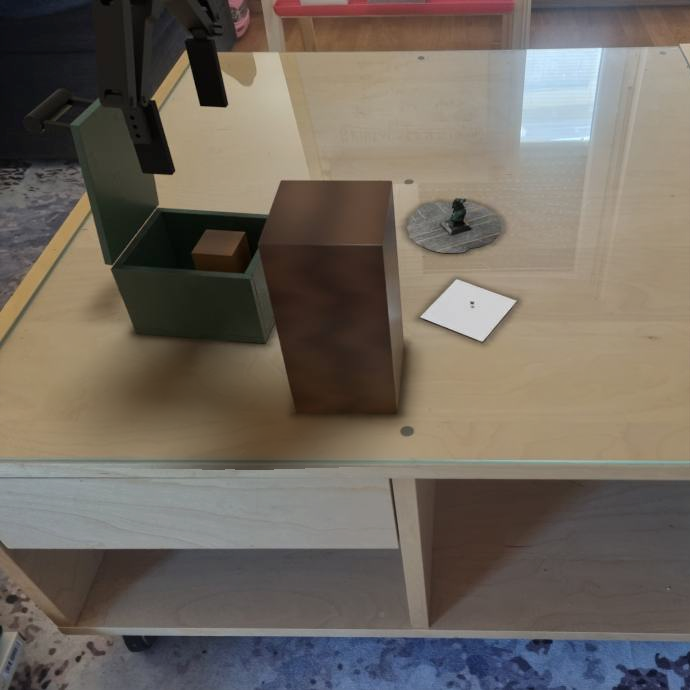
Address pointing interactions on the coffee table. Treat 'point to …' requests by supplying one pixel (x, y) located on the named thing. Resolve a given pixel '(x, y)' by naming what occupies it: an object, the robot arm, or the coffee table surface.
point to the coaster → (469, 310)
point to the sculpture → (453, 226)
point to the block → (222, 252)
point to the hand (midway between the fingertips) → (188, 136)
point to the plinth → (336, 293)
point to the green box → (193, 280)
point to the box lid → (103, 167)
